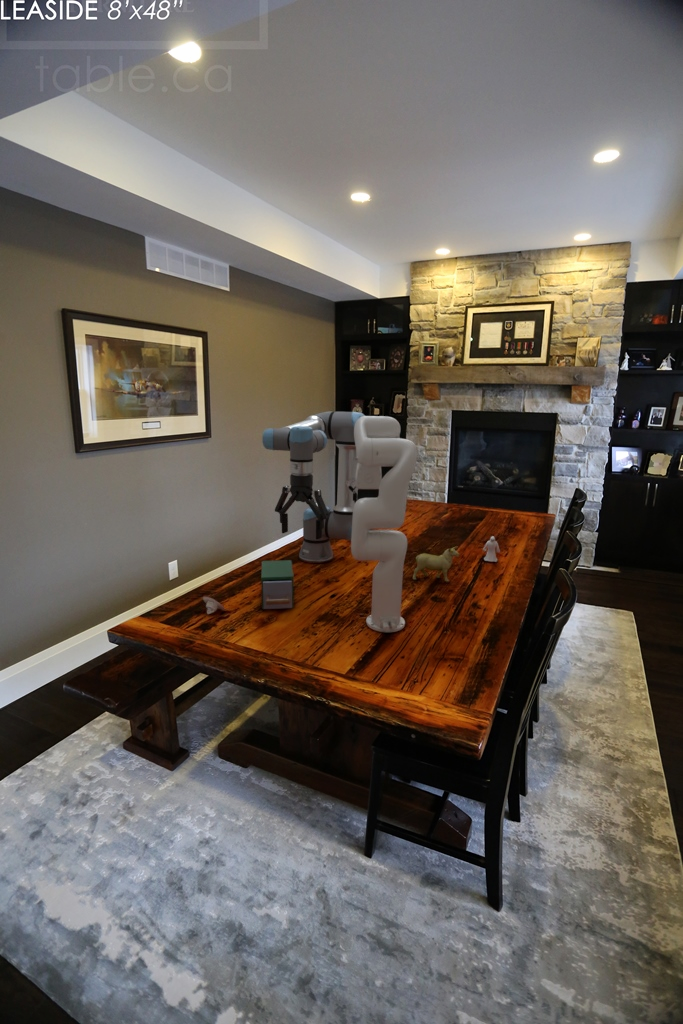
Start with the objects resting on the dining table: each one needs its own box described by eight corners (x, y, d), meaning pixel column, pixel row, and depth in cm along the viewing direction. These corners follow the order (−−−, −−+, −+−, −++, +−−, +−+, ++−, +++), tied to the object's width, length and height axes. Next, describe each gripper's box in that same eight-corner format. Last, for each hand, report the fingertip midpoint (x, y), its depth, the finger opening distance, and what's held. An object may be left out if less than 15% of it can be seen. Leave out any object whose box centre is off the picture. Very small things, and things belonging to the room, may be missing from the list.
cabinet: (293, 607, 173) (293, 576, 171) (261, 609, 172) (261, 577, 169) (291, 589, 189) (291, 560, 186) (262, 590, 188) (261, 561, 185)
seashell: (209, 622, 169) (193, 604, 168) (220, 611, 173) (205, 594, 172) (217, 618, 163) (201, 599, 162) (228, 607, 167) (213, 589, 166)
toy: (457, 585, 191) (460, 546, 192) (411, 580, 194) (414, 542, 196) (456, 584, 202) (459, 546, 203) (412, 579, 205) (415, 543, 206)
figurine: (481, 562, 222) (483, 536, 219) (482, 556, 230) (484, 531, 227) (499, 564, 220) (501, 538, 217) (499, 558, 228) (501, 533, 225)
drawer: (292, 615, 165) (292, 588, 163) (263, 617, 164) (262, 589, 161) (290, 590, 185) (290, 566, 183) (263, 591, 184) (263, 566, 182)
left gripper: (263, 471, 168) (265, 532, 173) (329, 479, 157) (328, 543, 162) (276, 468, 174) (277, 527, 179) (340, 475, 163) (339, 538, 168)
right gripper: (347, 460, 189) (346, 504, 193) (392, 461, 190) (390, 504, 194) (345, 458, 196) (345, 500, 200) (389, 458, 198) (387, 500, 202)
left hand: (301, 535), depth 171 cm, fingers open, 13 cm apart
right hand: (367, 502), depth 197 cm, fingers open, 9 cm apart
